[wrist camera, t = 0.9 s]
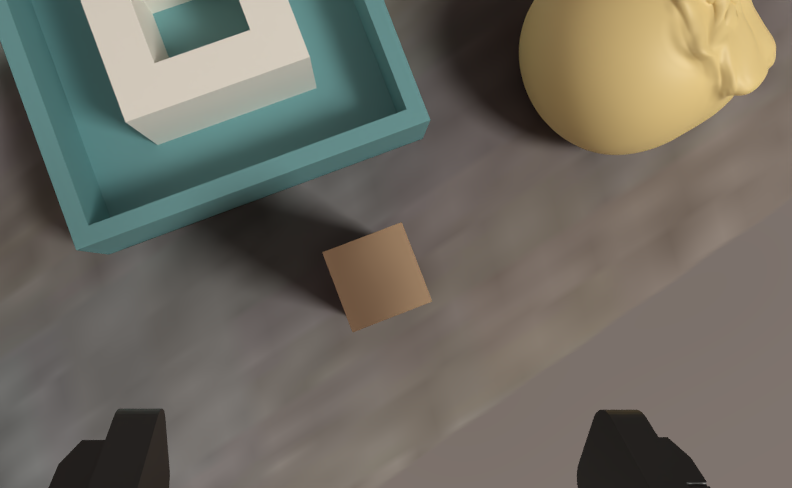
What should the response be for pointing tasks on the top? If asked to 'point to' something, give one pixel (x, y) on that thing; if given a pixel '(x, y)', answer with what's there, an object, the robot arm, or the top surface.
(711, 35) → the sculpture
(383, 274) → the peg
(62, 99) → the socket box
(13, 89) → the top surface
